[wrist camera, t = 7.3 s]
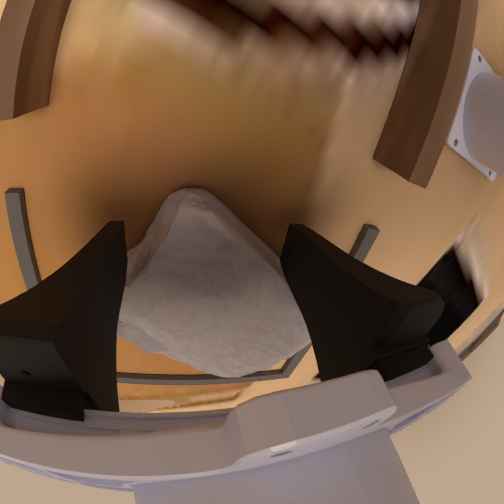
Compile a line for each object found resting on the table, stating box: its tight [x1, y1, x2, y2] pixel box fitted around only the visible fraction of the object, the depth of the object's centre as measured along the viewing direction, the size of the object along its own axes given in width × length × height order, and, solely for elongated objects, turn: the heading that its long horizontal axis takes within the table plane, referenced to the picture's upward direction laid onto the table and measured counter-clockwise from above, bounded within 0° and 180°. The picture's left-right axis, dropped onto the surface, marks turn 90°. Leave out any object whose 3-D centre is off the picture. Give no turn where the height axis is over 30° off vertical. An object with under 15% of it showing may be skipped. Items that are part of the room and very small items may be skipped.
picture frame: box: [455, 303, 504, 361], centre depth 48 cm, size 16×2×22 cm
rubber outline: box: [5, 189, 380, 385], centre depth 17 cm, size 21×17×1 cm
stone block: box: [117, 188, 311, 378], centre depth 15 cm, size 12×5×10 cm
